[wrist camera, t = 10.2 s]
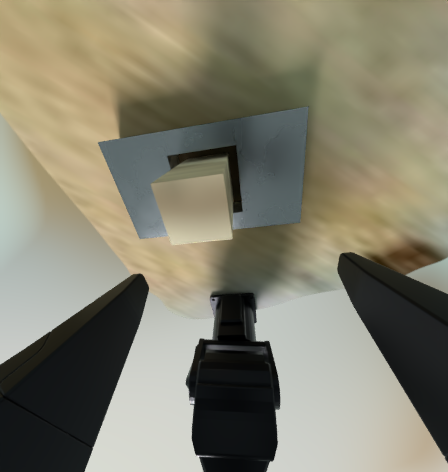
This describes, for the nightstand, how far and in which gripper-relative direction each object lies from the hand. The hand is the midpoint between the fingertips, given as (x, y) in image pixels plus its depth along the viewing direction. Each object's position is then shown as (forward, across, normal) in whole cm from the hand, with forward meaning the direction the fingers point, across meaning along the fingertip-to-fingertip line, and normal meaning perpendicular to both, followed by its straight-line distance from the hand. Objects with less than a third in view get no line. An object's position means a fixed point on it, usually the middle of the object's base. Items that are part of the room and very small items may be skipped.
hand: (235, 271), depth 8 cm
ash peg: (+12, +2, -2) cm, 13 cm away
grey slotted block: (+12, +2, -2) cm, 13 cm away
